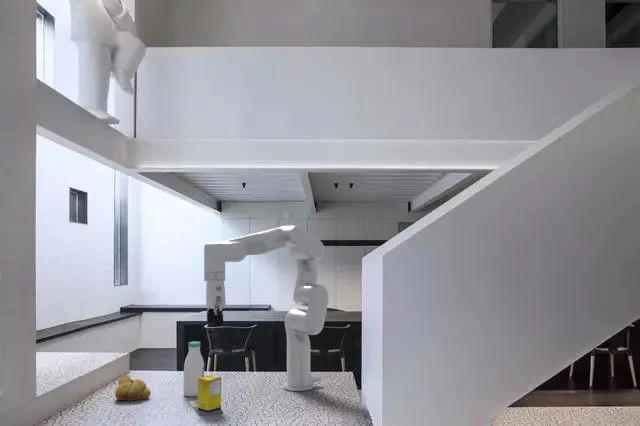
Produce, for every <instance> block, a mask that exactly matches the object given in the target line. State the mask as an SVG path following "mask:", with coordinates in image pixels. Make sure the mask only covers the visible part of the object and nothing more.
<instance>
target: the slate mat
mask: <svg viewBox="0 0 640 426" xmlns="http://www.w3.org/2000/svg"><path fill="white" fill-rule="evenodd" d="M194 411H195V412H196V413H197V414H198V415H199V417H202V416H208V415H217V414H223V413H224V410H223V409H222V408H221V409H218V410H215V411H212V412H209V413H208V412H204V411H200V410H198V407H197V408H194Z"/></svg>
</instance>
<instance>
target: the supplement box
mask: <svg viewBox="0 0 640 426" xmlns="http://www.w3.org/2000/svg"><path fill="white" fill-rule="evenodd" d="M197 400H198V410H200V411H204V412H208V413H209V412H212V411H215V410H218V409H221V410H222V376H219V375H218V376H217V375H214V374H213V375H212V374H209V375H206V376H205V375H204V377H201V378H198V396H197Z"/></svg>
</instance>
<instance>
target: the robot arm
mask: <svg viewBox="0 0 640 426" xmlns="http://www.w3.org/2000/svg"><path fill="white" fill-rule="evenodd" d="M284 248H289V254H290V256H291V258H292V259H293V261H294V262H295V265H296V267H297V272H296V273H297V275H296V279H295V283H294V284H295V285H294V289H293V295H292V297H293V298H292V299H293V301H294V303H295V305H297V306H301V307H306V308H307V309H303V308H294V309H290V310H289V311H288V312H287V313H285V314H286V315H285V316H284V328H285V332H286V334H285V335H286V382H284V383H283V384H282V388H283V389H284V390H286V391H292V392H306V391H310V390H312V389H314V388H315V385H314V383H315V382H317V383H318V382H322V377H321V376H316V375H314V376H313V375H311V341H310V337H309V335H311V336H315V335H319V334H320V333H321V332H322V330H323V329H324V325H325V321H326V317H327V310H328V305H329V293H328V289H327V287H325V285H324V284H321V283H320V284H319V283H317V281H318V274H319V273H318V272H319V271H318V267H317V264H316V262H315V261H319V260H321V259H322V258H323V257H324V256H325V250H326V249H325V245H324V244H323V242H322V241H321V240H320V239H319V238H317V237H316V236H315V235H313V234H312V233H310V232H309V231H308V230H307V229H305V228H304V227H302V226H300V225H282V226H278V227H274V228H272V229H271V228H270V229H268V230H264V231H260V232H256V233H252V234H248V235H243V236H240V237H239V236H238V237H234V238H232V239H227V240H224V241H221V242H207V243H205V245H204V246H203V263H204V264H203V269H204V270H203V281H204V282H206V286H205V287H206V288H205V304H206V307H207V308H206V323H207V324H213V327H223V326H224V309H225V308H226V288H225V281H226V263H238V262H243V261H244V260H245V259H246V257H247V256H257V255H264V254H268V253H271V252H275V251H277V250H280V249H284Z"/></svg>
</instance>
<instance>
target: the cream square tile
mask: <svg viewBox="0 0 640 426" xmlns="http://www.w3.org/2000/svg"><path fill="white" fill-rule="evenodd" d="M188 403H189V405H190V406H191V407H192V408H193V409H195V408H197V407H198V399H196V400H189V401H188Z"/></svg>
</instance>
